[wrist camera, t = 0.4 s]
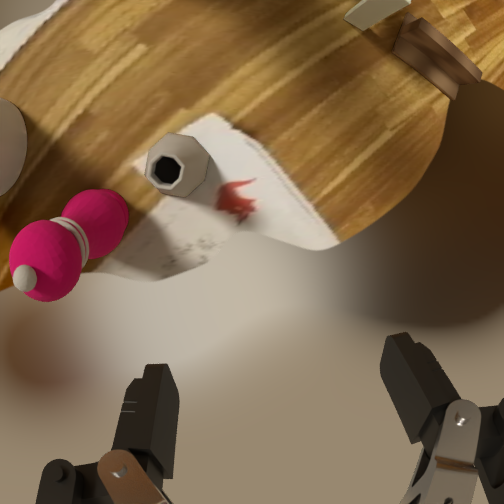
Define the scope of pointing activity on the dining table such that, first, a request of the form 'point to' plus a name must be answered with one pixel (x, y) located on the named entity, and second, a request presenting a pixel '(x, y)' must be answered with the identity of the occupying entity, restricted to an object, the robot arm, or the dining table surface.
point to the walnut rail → (434, 56)
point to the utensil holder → (11, 144)
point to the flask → (176, 164)
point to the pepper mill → (67, 244)
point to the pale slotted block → (373, 12)
